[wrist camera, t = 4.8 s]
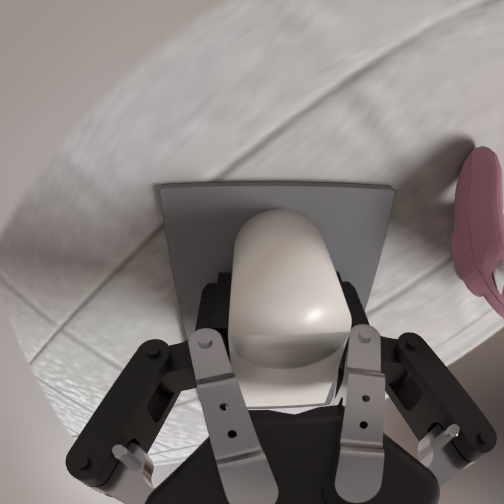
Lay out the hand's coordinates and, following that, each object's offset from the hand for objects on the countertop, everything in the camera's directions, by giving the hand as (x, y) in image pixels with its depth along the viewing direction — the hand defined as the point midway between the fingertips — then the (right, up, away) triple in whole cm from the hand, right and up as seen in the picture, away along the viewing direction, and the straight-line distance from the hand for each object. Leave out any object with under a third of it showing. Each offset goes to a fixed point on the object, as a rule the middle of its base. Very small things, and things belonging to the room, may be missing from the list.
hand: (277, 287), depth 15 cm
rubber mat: (0, -3, +3) cm, 4 cm away
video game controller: (+12, +3, -1) cm, 13 cm away
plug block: (0, 0, 0) cm, 0 cm away
